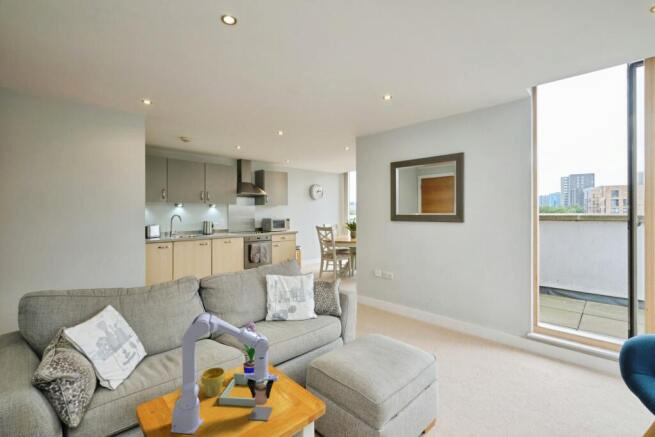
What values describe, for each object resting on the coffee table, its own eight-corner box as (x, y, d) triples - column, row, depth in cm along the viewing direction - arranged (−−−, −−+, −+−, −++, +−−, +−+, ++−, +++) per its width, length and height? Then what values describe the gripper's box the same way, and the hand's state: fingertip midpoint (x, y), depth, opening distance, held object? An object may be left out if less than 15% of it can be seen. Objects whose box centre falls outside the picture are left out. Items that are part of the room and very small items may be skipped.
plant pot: (219, 400, 135) (219, 378, 134) (197, 399, 135) (197, 378, 135) (228, 387, 145) (228, 367, 145) (207, 386, 145) (207, 366, 145)
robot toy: (197, 398, 137) (197, 393, 137) (185, 416, 125) (185, 410, 125) (180, 398, 137) (180, 393, 136) (167, 416, 125) (167, 410, 124)
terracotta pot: (251, 402, 125) (251, 388, 125) (260, 395, 130) (260, 381, 130) (261, 407, 122) (261, 393, 122) (270, 400, 127) (271, 386, 127)
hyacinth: (262, 371, 159) (263, 316, 159) (256, 382, 149) (256, 323, 149) (247, 370, 160) (247, 315, 160) (239, 381, 150) (239, 322, 150)
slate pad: (248, 419, 122) (248, 418, 122) (255, 407, 130) (255, 406, 130) (267, 421, 121) (267, 419, 121) (272, 408, 129) (272, 407, 129)
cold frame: (219, 404, 132) (219, 393, 132) (234, 382, 149) (234, 372, 149) (256, 406, 130) (256, 395, 130) (267, 384, 147) (267, 374, 147)
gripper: (240, 369, 122) (240, 401, 122) (275, 370, 121) (275, 404, 121) (247, 360, 129) (247, 391, 129) (279, 362, 128) (279, 393, 128)
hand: (261, 397), depth 125 cm, fingers closed on terracotta pot, 6 cm apart
